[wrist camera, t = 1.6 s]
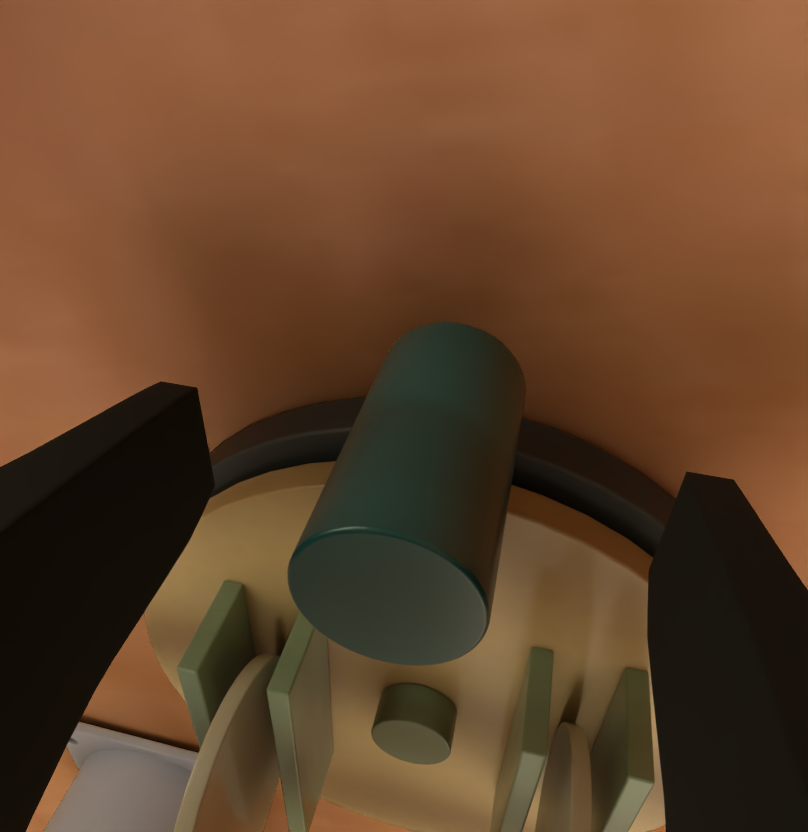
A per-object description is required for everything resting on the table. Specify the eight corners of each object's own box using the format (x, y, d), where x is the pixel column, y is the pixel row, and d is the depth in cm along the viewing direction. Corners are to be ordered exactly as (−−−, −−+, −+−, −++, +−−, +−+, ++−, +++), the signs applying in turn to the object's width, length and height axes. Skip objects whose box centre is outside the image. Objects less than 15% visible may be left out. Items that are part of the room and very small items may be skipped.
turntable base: (656, 824, 23) (658, 863, 22) (210, 712, 26) (195, 743, 25) (871, 468, 13) (891, 511, 12) (114, 344, 16) (84, 373, 15)
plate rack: (646, 865, 22) (659, 1180, 16) (202, 750, 24) (89, 992, 19) (950, 390, 10) (1305, 906, 5) (59, 261, 13) (-325, 522, 8)
